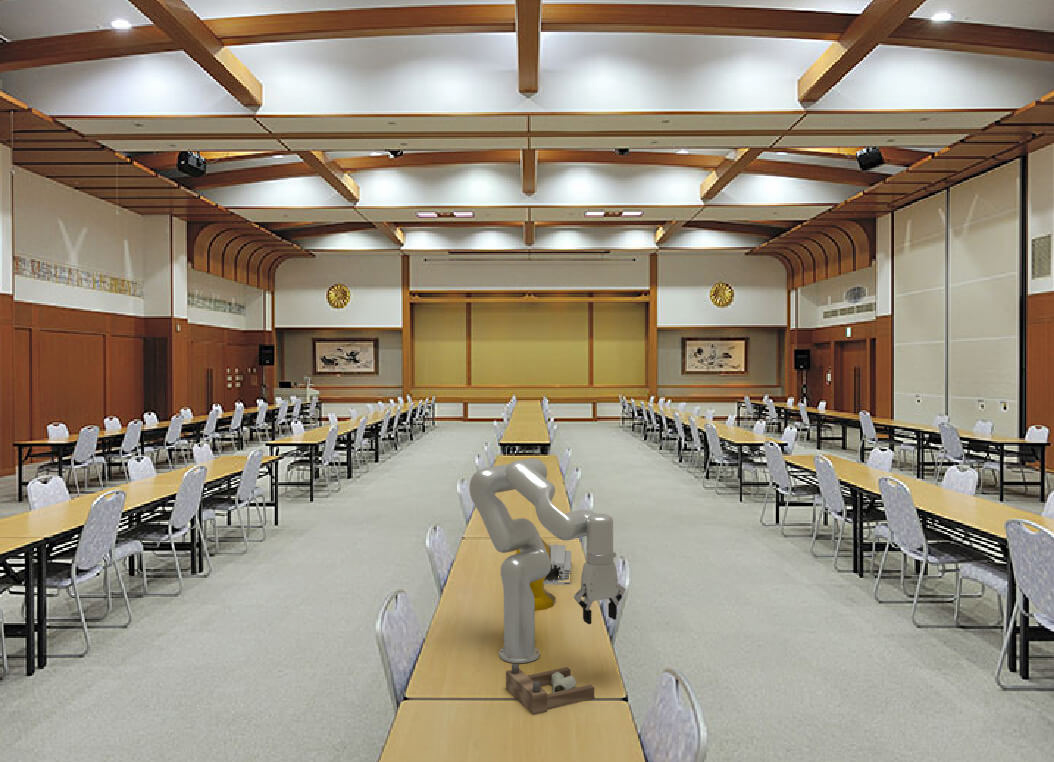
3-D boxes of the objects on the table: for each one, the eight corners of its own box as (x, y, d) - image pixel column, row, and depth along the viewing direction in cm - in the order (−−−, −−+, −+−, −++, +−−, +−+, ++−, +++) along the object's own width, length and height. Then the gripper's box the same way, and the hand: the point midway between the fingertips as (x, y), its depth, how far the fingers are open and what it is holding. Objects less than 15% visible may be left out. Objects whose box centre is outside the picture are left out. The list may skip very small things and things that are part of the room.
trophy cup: (496, 609, 273) (496, 534, 272) (525, 591, 294) (525, 521, 294) (538, 616, 265) (538, 539, 264) (566, 597, 287) (566, 525, 286)
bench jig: (505, 688, 205) (505, 663, 205) (565, 676, 214) (565, 652, 214) (533, 714, 190) (533, 687, 190) (596, 699, 199) (596, 674, 198)
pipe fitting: (574, 686, 209) (550, 684, 208) (575, 672, 209) (551, 671, 208) (577, 698, 201) (552, 697, 200) (578, 684, 201) (553, 683, 200)
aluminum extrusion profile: (571, 565, 334) (571, 543, 333) (570, 585, 303) (570, 561, 303) (539, 564, 335) (539, 543, 334) (535, 584, 304) (535, 560, 304)
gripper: (618, 552, 215) (618, 612, 216) (566, 559, 208) (566, 621, 208) (633, 558, 209) (633, 619, 209) (579, 565, 201) (580, 629, 201)
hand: (600, 620), depth 209 cm, fingers open, 7 cm apart
